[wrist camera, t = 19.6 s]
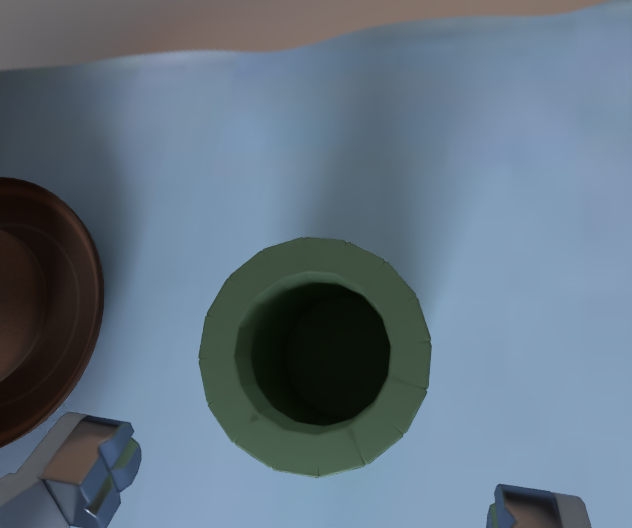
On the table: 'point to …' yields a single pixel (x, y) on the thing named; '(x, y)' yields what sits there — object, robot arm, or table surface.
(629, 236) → the table surface
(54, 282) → the cup and saucer
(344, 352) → the green cylindrical container
